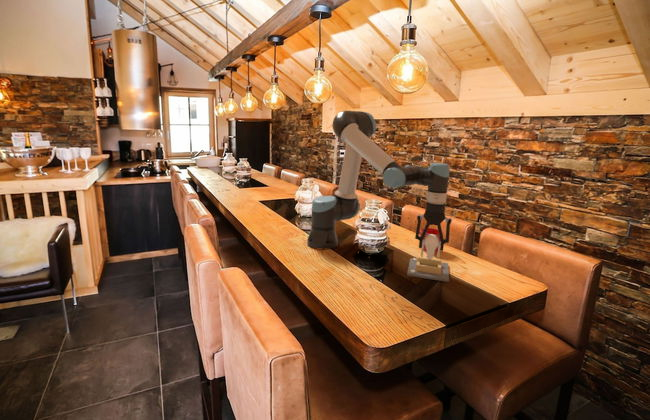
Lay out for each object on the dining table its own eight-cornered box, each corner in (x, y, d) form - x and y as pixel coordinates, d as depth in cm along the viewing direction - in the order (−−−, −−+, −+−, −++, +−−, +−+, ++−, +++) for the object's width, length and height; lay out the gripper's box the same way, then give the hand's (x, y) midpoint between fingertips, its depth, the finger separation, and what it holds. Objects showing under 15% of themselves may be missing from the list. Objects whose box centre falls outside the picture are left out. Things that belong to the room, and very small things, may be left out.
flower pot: (442, 254, 168) (444, 235, 166) (418, 252, 170) (420, 232, 168) (440, 247, 178) (442, 228, 176) (417, 245, 180) (419, 226, 178)
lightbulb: (428, 263, 144) (431, 237, 142) (418, 258, 150) (421, 233, 147) (440, 261, 147) (443, 236, 144) (430, 256, 152) (433, 231, 149)
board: (407, 275, 143) (407, 267, 142) (410, 260, 160) (411, 252, 159) (448, 282, 139) (449, 273, 138) (447, 265, 155) (448, 257, 155)
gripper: (411, 201, 141) (406, 256, 147) (461, 206, 136) (454, 263, 142) (412, 198, 148) (407, 250, 154) (460, 202, 143) (453, 256, 149)
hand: (429, 256), depth 148 cm, fingers closed on lightbulb, 6 cm apart
